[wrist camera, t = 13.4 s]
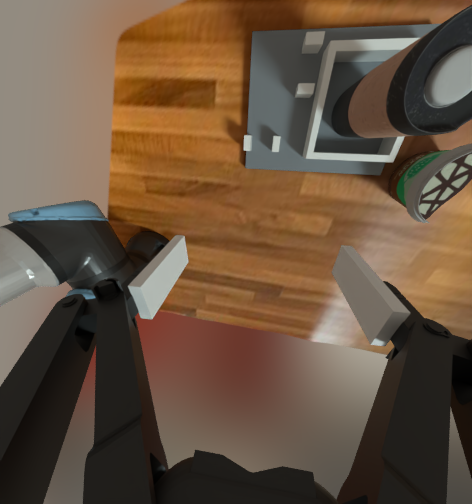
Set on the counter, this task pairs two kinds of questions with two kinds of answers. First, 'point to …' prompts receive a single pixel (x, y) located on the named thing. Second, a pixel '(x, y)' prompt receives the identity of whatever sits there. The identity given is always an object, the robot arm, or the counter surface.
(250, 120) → the grey fixture board
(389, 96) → the travel mug
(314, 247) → the counter surface
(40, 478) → the robot arm
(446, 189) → the food container
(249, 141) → the clips
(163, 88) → the counter surface
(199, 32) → the counter surface
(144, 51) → the counter surface
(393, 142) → the end holder
